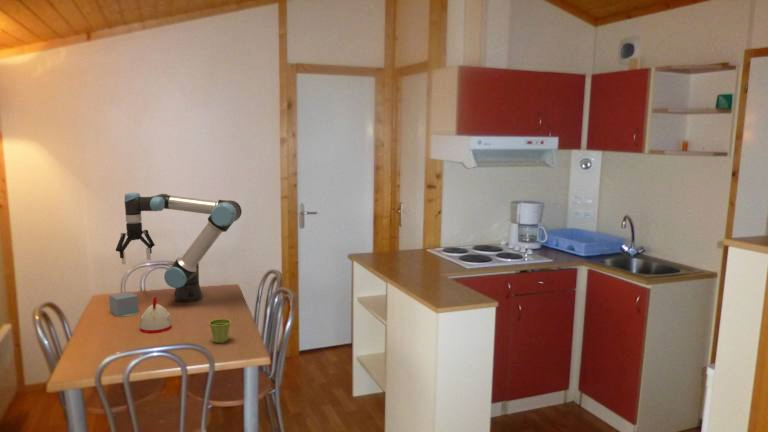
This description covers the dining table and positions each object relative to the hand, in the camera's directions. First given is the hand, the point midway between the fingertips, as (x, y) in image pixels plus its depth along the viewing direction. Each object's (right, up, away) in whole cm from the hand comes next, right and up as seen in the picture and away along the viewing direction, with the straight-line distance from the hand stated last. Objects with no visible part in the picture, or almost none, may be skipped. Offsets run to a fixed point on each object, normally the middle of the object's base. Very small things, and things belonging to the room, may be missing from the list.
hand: (136, 262), depth 303 cm
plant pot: (+58, -31, -49) cm, 82 cm away
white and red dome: (+24, -29, -34) cm, 51 cm away
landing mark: (0, -25, -12) cm, 28 cm away
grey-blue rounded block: (-2, -25, -11) cm, 27 cm away
